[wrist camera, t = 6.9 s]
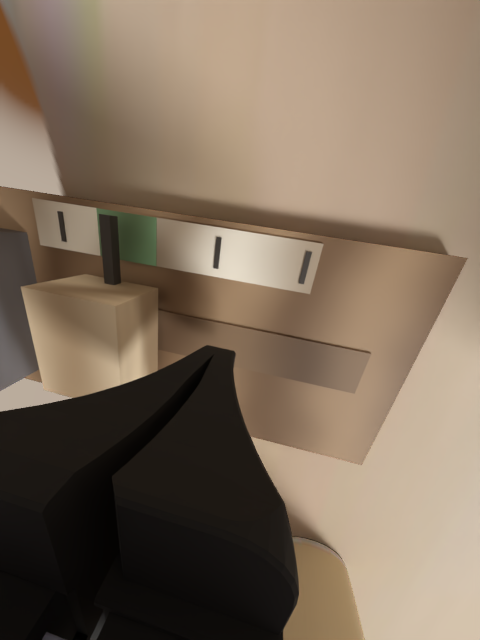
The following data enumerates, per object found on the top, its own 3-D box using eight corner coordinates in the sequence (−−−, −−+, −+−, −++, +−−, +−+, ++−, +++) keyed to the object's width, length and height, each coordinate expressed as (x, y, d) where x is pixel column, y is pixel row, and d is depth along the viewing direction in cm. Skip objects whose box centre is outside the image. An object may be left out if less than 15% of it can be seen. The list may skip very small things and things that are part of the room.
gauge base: (449, 256, 10) (603, 274, 5) (356, 450, 14) (392, 553, 10) (-21, 183, 12) (-202, 151, 8) (25, 367, 17) (-72, 416, 12)
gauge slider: (158, 222, 10) (109, 217, 7) (157, 372, 13) (122, 410, 10) (78, 210, 10) (0, 199, 8) (95, 357, 13) (44, 390, 10)
